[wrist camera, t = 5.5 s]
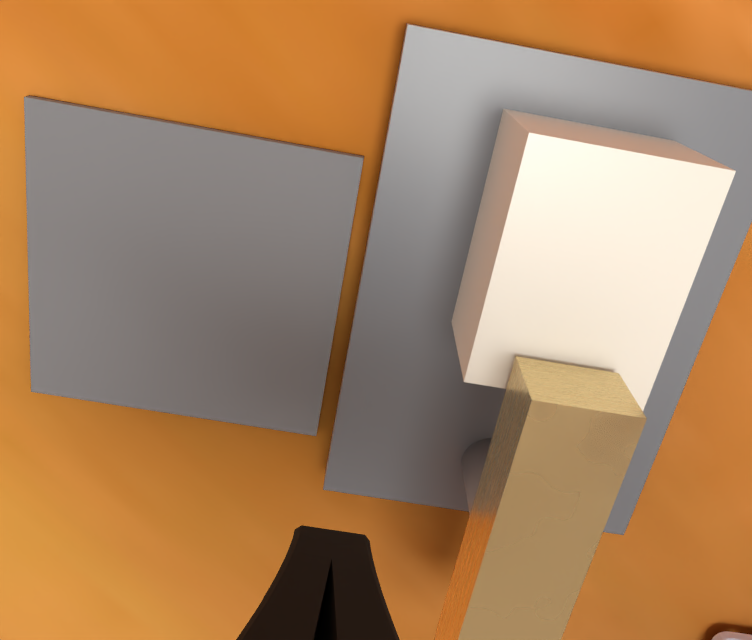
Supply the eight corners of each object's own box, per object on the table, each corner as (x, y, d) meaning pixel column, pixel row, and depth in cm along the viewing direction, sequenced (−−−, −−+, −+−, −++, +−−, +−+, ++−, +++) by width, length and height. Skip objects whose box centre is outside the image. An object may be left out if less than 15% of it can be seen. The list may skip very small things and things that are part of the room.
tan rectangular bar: (618, 372, 17) (647, 418, 15) (503, 692, 21) (515, 757, 20) (515, 355, 17) (531, 400, 15) (421, 681, 21) (425, 745, 19)
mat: (363, 156, 20) (363, 158, 19) (317, 431, 23) (316, 436, 23) (29, 95, 19) (24, 96, 19) (35, 387, 23) (30, 391, 22)
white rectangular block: (674, 140, 18) (736, 170, 15) (603, 347, 21) (643, 410, 18) (503, 108, 18) (529, 132, 15) (451, 322, 20) (463, 382, 17)
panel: (780, 95, 19) (894, 123, 15) (614, 515, 24) (662, 622, 20) (406, 23, 18) (413, 30, 14) (325, 470, 24) (312, 571, 20)
